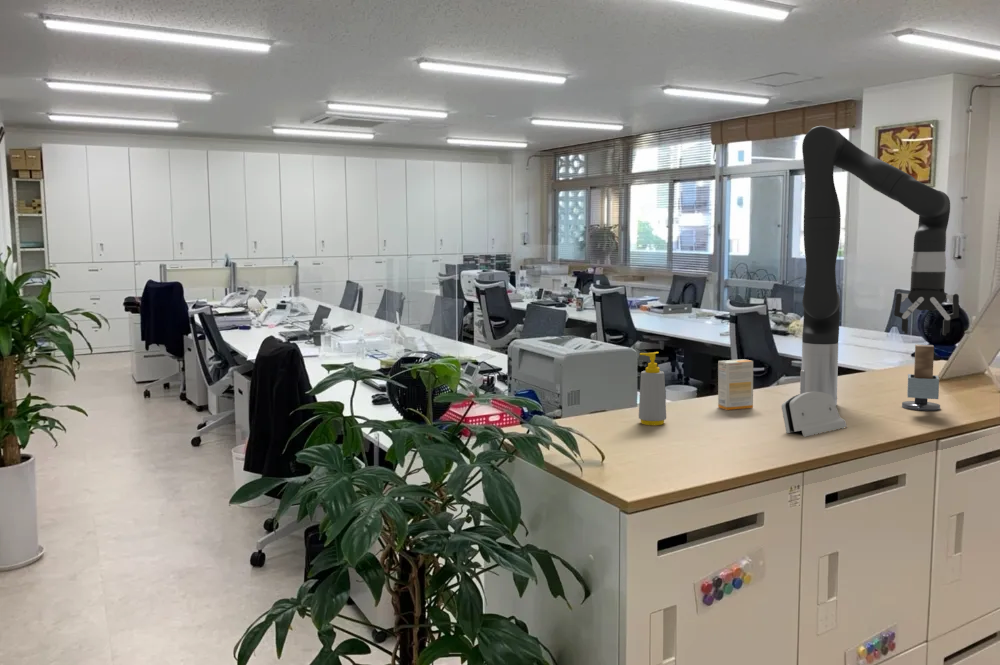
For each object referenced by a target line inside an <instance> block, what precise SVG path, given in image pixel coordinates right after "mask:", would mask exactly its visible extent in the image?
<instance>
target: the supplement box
mask: <svg viewBox="0 0 1000 665" xmlns="http://www.w3.org/2000/svg"><path fill="white" fill-rule="evenodd" d="M717 367H718V368H717V369H718V370H717V372H718V373H717V374H718V375H717V376H718V377H717V378H718V379H717V381H718V382H717V384H718V385H717V391H718V392H717V394H718V395H717V399H718V400H717V401H718V402H717V403H718V404H717V407H718V408H720V409H723V410H726V411H730V410H741V409H743V410H744V409H753V407H754V360H749V359H745V358H744V359H743V358H742V359H741V358H740V359H729V360H726V359H725V360H718V363H717Z"/></svg>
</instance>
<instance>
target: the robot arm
mask: <svg viewBox="0 0 1000 665" xmlns="http://www.w3.org/2000/svg"><path fill="white" fill-rule="evenodd" d="M801 148H802V160H803V168H804V169H803V170H804V196H803V197H804V198H803V199H804V203H803V204H804V205H803V207H804V208H803V246H804V248H803V249H804V255H805V258H804V259H805V266H806V267H805V281H804V289H803V294H802V307H803V326H802V337H801V338H802V339H801V340H802V342H801V370H800V382H799V383H800V385H799V386H800V388H799V394H802V393H806V392H823V393H827V394H830V395H831V396H832V397H833V400H834V403H835V405H836V406H837V404H838V378H839V377H838V371H839V370H838V368H839V340H840V338H839V337H840V316H841V315H840V312H841V298H840V295H839V292H838V288H837V278H836V277H837V275H836V274H837V273H836V268H837V267H836V265H837V258H838V253H839V248H840V240H841V222H842V221H841V220H842V219H841V216H842V215H841V207H840V200H839V197H838V194H837V190H836V186H835V181H834V180H835V179H834V178H835V177H834V169H835V168H834V167H837V168H840V169H841V170H844V171H846V172H848V173H849V174H852V175H853V176H855V177H857V178H858V179H859V180H861V181H862V182H863V183H865V184H866V185H867V186H869V187H870V188H872V189H874V190H875V191H877V192H879V193H880V194H882V195H883V196H885V197H888V198H889V199H891V200H892V201H893V200H894V201H896V202H898V203H899V204H901V205H902V206H904V207H905V208H907V209H909V210H910V211H911V212H913V213H915V214H916V215H918V228H917V230H916V231H915V232H914V237H913V251H912V252H913V253H912V258H911V265H910V266H911V267H910V269H911V272H910V291H909V292H908V293H901V292H897V293H896V296H895V305H894V312H893V314H894V315H893V316H895V317H898V318H900V319H901V331H902V332H904V335H908V331H909V330H908V329H909V316H910V315H911V314H913V313H914V311H915V310H918V311H929V312H933V311H936V310H937V311H938V312H939V313H940V315H941V316H942V317H943V318H944V319H943V320H942V335H943V336H947V334H949V333H950V331H951V321H952V320H955V319H958V318H959V317H960V296H959V294H958V293H952V294H946V293H945V291H946V290H945V284H946V270H947V257H946V256H947V255H946V248H947V245H946V244H947V229H948V225H949V220H950V219H949V218H950V214H951V199H950V197H949V196H948V194H946V193H945V192H943V191H941V190H937V189H935V188H933V187H931V186H929V185H927V184H925V183H923V182H921V181H919V180H917V179H916V178H915V177H914V176H912V175H911V174H909V173H907V172H905V171H904V170H901V169H900V168H898V167H897V166H894V165H892V164H890V163H888V162H886V161H885V160H884V161H883V160H882V159H880V158H877V157H874V156H872V155H871V154H869V153H868V152H866V151H864V150H863V149H861V148H859V147H858V146H856V145H855V144H854V143H852V142H851V141H850V140H849V139H847V138H846V136H844V135H843V134H842V133H841V132H840V131H839V130H837V129H835V128H832V127H830V126H825V125H819V126H815V127H812V128H811V129H810V130H808V132H806V134H805V136H804V138H803V140H802V147H801ZM906 299H908V300H909V302H910V303H911V305H910V306H908V308H907V309H906V310H905V311H904V312H901V306H902V305H901V304H902V303H903V302H904V301H905V300H906ZM946 299H947V300H948V302H950V303H952V313H948V312H947V311H946V310H945V308H944V307H943V306H942V304H943V303H944V301H946Z"/></svg>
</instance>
